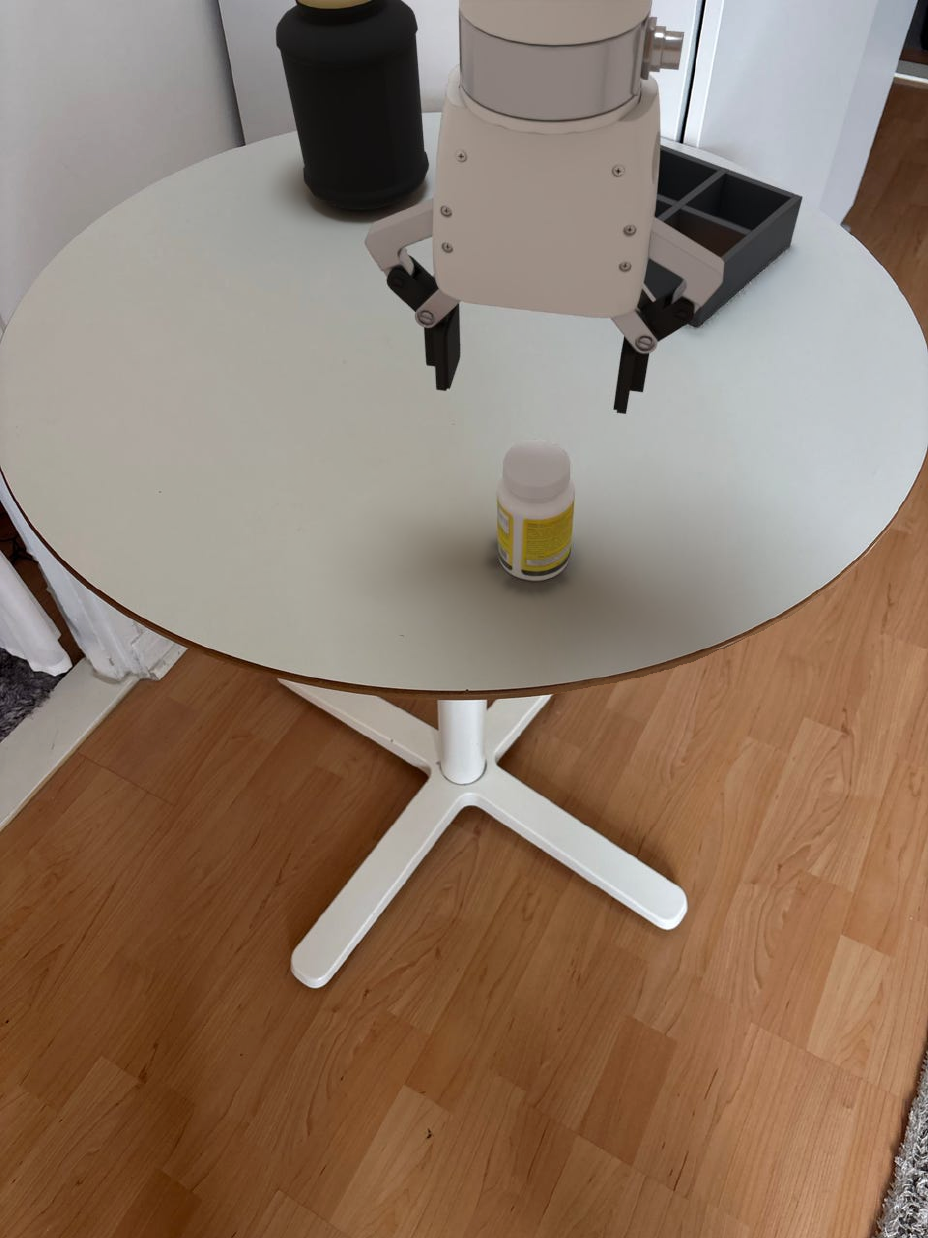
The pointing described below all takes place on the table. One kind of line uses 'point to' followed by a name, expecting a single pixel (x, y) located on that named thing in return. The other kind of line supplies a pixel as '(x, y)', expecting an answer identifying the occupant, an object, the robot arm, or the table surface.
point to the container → (355, 99)
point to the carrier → (720, 222)
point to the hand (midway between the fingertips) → (534, 385)
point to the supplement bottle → (535, 510)
